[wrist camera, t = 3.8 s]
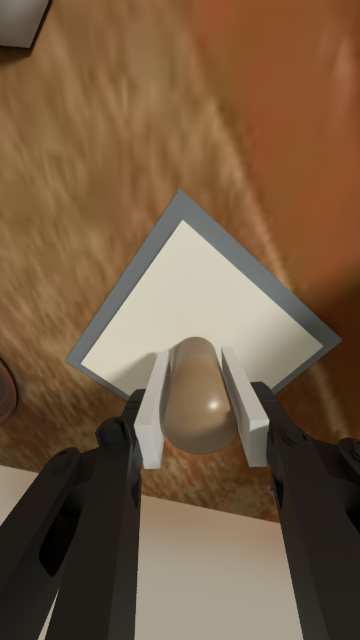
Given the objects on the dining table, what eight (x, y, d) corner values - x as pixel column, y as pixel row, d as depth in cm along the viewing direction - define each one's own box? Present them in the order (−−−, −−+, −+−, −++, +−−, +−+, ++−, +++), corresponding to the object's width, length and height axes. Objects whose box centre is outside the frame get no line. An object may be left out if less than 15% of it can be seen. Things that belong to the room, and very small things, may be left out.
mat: (338, 338, 15) (342, 340, 15) (203, 447, 20) (204, 450, 20) (180, 190, 12) (179, 188, 12) (67, 358, 17) (65, 360, 17)
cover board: (316, 342, 15) (443, 418, 8) (202, 436, 19) (211, 547, 12) (182, 222, 13) (174, 161, 5) (85, 359, 17) (2, 435, 9)
